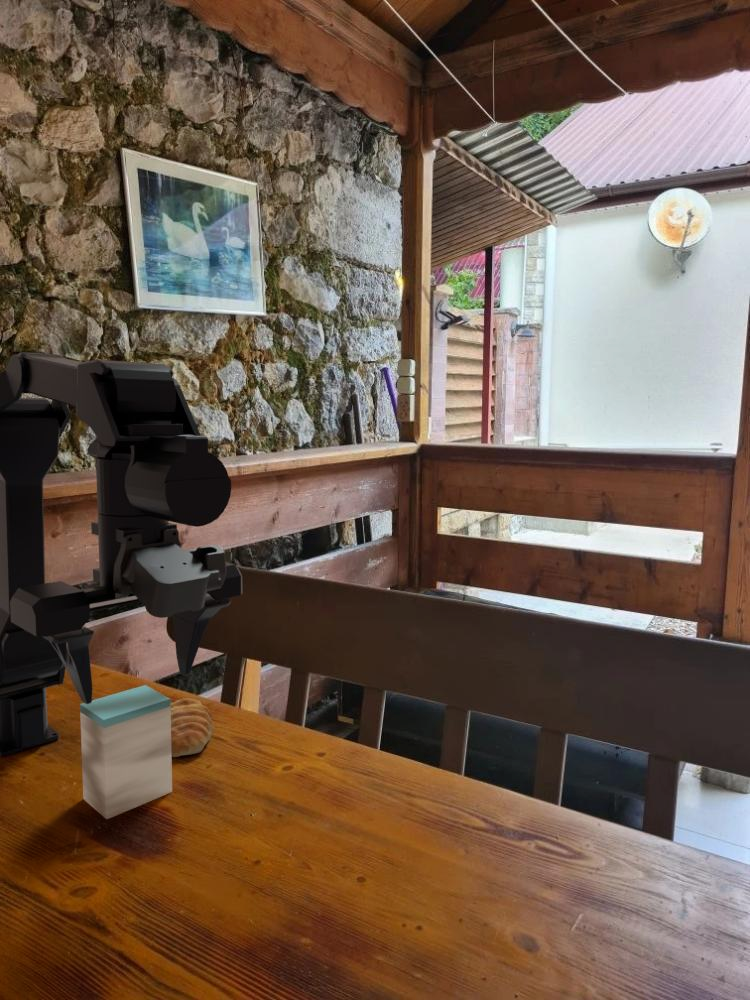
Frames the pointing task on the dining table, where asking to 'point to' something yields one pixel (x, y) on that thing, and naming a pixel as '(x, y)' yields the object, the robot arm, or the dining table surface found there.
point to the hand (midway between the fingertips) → (138, 687)
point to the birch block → (126, 750)
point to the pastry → (189, 727)
